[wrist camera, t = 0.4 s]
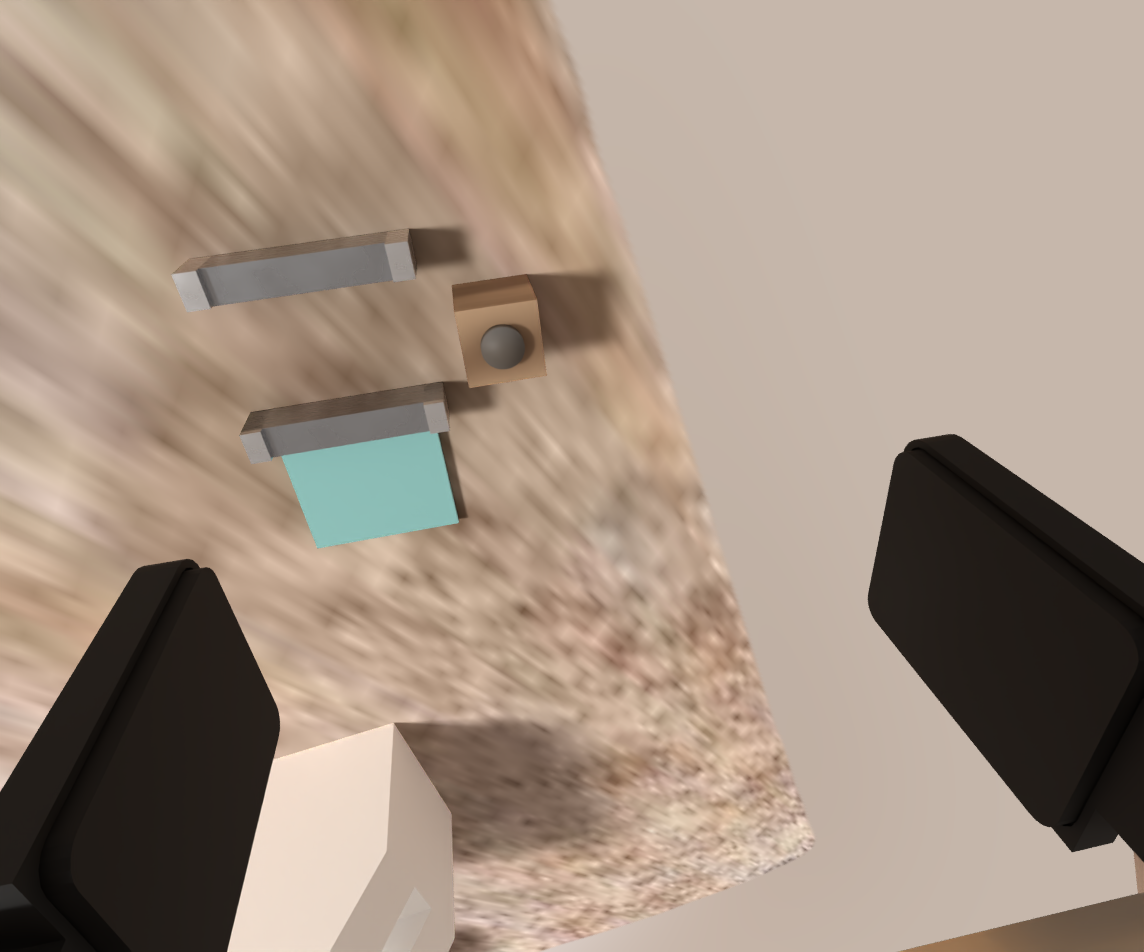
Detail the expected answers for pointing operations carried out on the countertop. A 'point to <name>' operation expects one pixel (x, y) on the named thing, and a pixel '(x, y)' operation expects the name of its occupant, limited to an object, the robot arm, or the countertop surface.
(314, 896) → the milk carton
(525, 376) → the wooden knob block
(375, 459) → the pad
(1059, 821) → the robot arm
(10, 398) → the countertop surface
